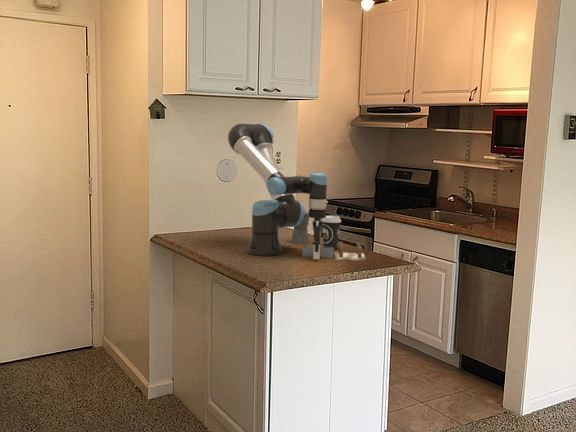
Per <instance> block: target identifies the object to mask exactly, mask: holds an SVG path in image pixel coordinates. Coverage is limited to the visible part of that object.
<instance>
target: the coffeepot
mask: <svg viewBox="0 0 576 432" xmlns="http://www.w3.org/2000/svg"><path fill="white" fill-rule="evenodd" d="M309 222H310V217H309V210H305V215H304V219H303V221H302V222H301V223H300V224H299V225H297V226H293V231H292V235H291V243H293V244H299V245H300V244H301V245H303V244H304V245H305V244H306V245H307V244H308V243H310V238H309V231H308V226H309Z"/></svg>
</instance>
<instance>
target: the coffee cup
mask: <svg viewBox="0 0 576 432" xmlns="http://www.w3.org/2000/svg"><path fill="white" fill-rule="evenodd" d="M320 221H322V226H321V231H322V244H323V245H322V246H334V250H337V249H338V246H339V237H340V236H339V235H340V228H341V227H340V226H341V223H342V219H341V217H340V216H338V215H326V217H325V218H321V219H320Z"/></svg>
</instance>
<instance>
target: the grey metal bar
mask: <svg viewBox="0 0 576 432" xmlns="http://www.w3.org/2000/svg"><path fill="white" fill-rule="evenodd" d="M301 246H302V248H301V258H313V248H314V246H313V245H307V244H306V245H305V244H304V245H303V244H301ZM334 250H335V249H334V246H323V245H320V258H324V259H325V258H328V259H335V255H334V254H335V251H334Z"/></svg>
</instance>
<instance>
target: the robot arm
mask: <svg viewBox="0 0 576 432" xmlns="http://www.w3.org/2000/svg"><path fill="white" fill-rule="evenodd" d="M274 137H275V136H274V133H273V131H272V129H271V128H270V126H268V125H266V124H262V123H238V124H235V125H233V126H232V127H230V129H229V132H228V135H227V141H228V144H229V147H230V148H231V149H232V150H233V151H234V153H236V154H237V155H240V156H241V157H242V158H243V159H244V160H245V161H246V162H247V163H248V164H249V166H250V167H251V168H252V169H254V171H255V172H256V173H257V174H258V175H259V176H260V177H261V178H262V179H263V181H264V183H265V187H266V189H267V191H268V193H269V194H268V195H269V196H270V198H271V199H262V200H258V201H255V202H254V203H253V204H252V210H251V236H250V239H249V243H248V245H247V254H250V255H253V256H260V257H261V256H263V257H264V256H265V257H267V256H277V255H281V254H282V246H281V245H282V244H281V241H280V238H279V229H281V228H294V226H297V225H299V224H300V223H301V222H302V221H303V219H304V215H305V211H306V210H305V206H304V204H303V202H302V201H300V200H297V199H296V198H295V196H294V194H307V195H308V196H309V197H308V207H309V209H308V212H309V218H311V219H313V220H312V231H313V239H312V241H313V242H311V245H312V246H314V248H313V257H312V260H320V258H321V257H320V246H321V239H322V235H321V231H322V221H321V219H322V218H325V217H326V216H327V204H328V203H329V202H328V200H327V195H328V194H327V193H328V192H327V191H328V175H327V174H326V173H325V172H312V173H310V174H309V176H306V175H305V176H304V175H292V176H284V174H283V173H281V170H280V168H279V166H278V163H277V161H276V158H275V157H274V153H273V152H272V149H273V143H274Z"/></svg>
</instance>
